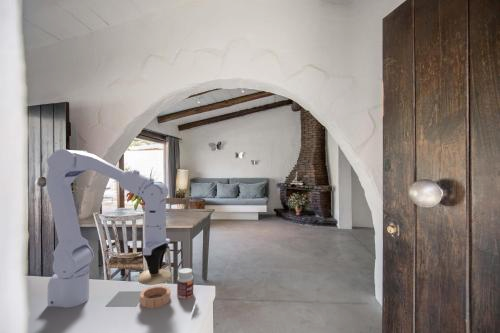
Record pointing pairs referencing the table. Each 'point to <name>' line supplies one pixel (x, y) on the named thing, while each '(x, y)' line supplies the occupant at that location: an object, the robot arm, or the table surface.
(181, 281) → the pill bottle
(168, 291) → the bowl
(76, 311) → the table surface
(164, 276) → the lid
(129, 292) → the coaster
